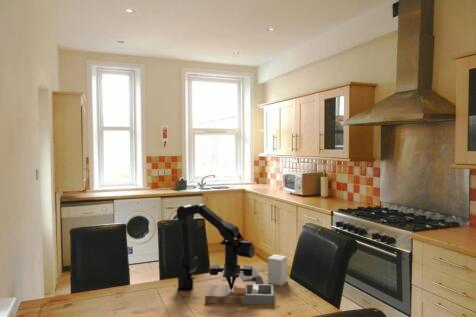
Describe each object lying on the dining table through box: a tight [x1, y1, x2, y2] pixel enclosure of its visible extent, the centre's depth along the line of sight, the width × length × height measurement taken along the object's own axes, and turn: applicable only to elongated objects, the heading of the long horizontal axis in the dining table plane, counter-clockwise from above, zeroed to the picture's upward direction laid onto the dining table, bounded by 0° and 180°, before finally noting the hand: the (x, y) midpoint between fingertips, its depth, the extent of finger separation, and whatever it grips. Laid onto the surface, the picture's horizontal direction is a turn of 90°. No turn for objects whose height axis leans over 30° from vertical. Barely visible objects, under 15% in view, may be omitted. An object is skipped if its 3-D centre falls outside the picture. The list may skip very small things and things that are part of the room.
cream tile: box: [250, 283, 259, 294], centre depth 160 cm, size 5×5×2 cm
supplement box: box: [267, 253, 288, 287], centre depth 178 cm, size 7×7×13 cm
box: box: [245, 283, 275, 306], centre depth 160 cm, size 12×12×4 cm
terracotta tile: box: [233, 282, 247, 294], centre depth 160 cm, size 5×5×2 cm
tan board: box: [204, 284, 247, 305], centre depth 161 cm, size 17×12×3 cm
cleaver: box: [239, 267, 264, 284], centre depth 182 cm, size 30×10×2 cm, turn 10°
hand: (231, 289), depth 161 cm, fingers closed
